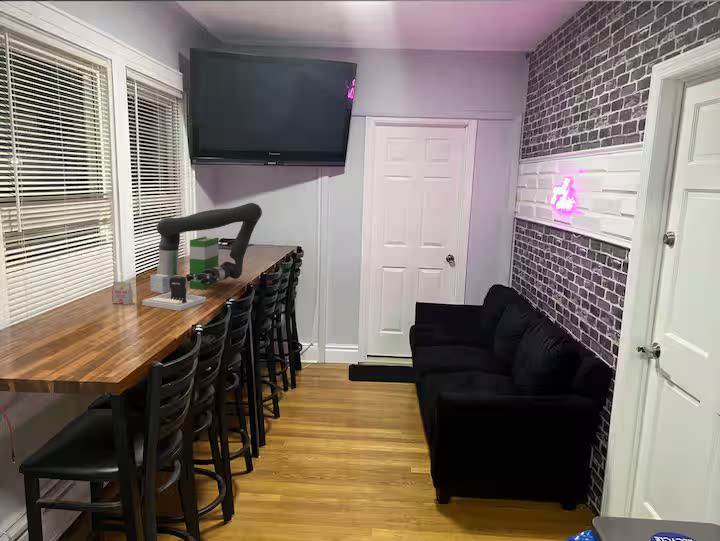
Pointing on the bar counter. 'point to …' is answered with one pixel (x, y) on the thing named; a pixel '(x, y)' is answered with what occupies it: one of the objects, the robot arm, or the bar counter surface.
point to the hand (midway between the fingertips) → (193, 280)
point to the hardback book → (203, 258)
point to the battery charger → (178, 288)
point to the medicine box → (159, 283)
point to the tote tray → (191, 301)
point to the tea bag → (122, 292)
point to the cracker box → (167, 301)
